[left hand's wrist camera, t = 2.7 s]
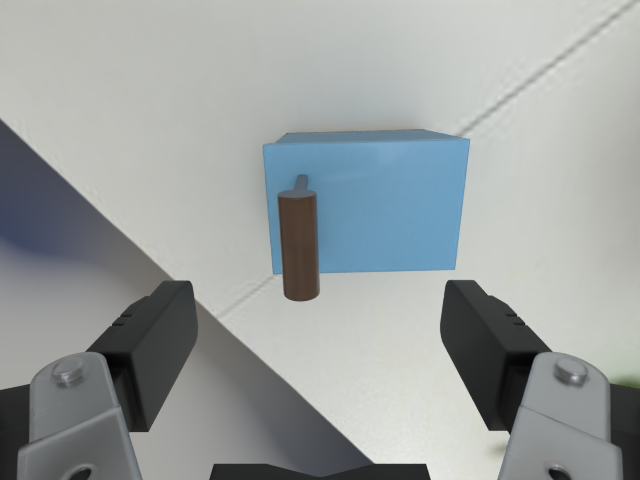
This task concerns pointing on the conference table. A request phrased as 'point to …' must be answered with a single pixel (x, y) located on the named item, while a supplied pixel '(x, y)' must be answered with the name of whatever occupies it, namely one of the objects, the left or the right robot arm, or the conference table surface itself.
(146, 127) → the conference table surface
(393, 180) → the blue box lid
